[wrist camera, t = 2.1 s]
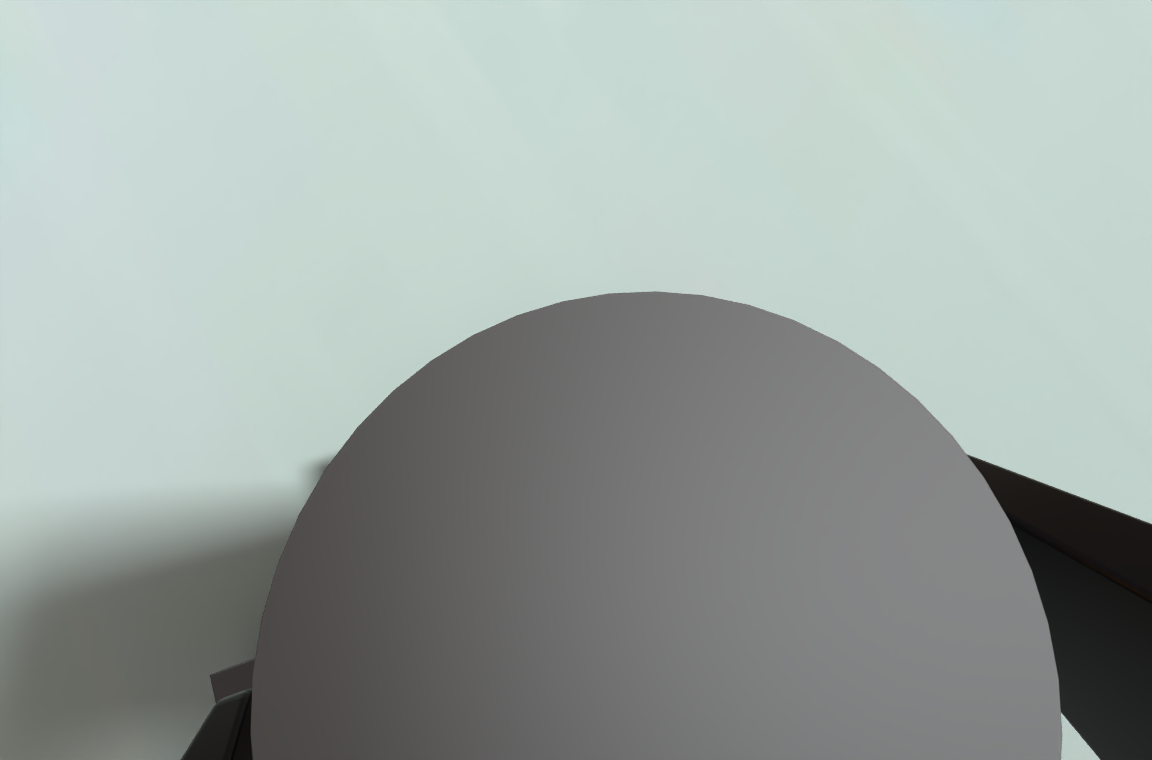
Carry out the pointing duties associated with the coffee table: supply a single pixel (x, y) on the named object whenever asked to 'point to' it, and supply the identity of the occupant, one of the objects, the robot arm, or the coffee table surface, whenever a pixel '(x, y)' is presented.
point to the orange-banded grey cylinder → (653, 560)
